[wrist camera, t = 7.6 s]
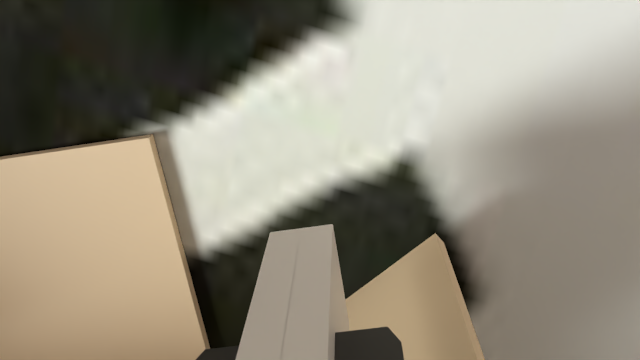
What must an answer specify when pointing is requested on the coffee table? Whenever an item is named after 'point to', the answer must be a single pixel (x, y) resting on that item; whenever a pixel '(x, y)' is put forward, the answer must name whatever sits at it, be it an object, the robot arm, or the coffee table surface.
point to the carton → (93, 257)
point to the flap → (419, 306)
